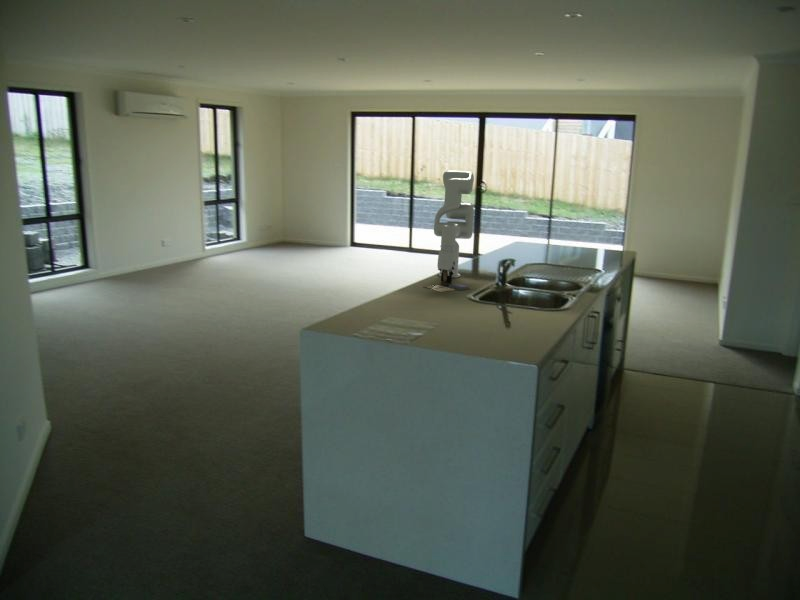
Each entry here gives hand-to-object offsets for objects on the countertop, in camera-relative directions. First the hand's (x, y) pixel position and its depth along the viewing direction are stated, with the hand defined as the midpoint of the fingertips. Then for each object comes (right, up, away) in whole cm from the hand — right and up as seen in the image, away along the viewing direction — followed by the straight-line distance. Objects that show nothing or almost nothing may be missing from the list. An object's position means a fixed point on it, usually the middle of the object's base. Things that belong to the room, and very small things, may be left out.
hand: (446, 281), depth 341 cm
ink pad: (+6, -4, -8) cm, 11 cm away
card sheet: (-5, -4, -10) cm, 12 cm away
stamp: (0, -1, 0) cm, 1 cm away
